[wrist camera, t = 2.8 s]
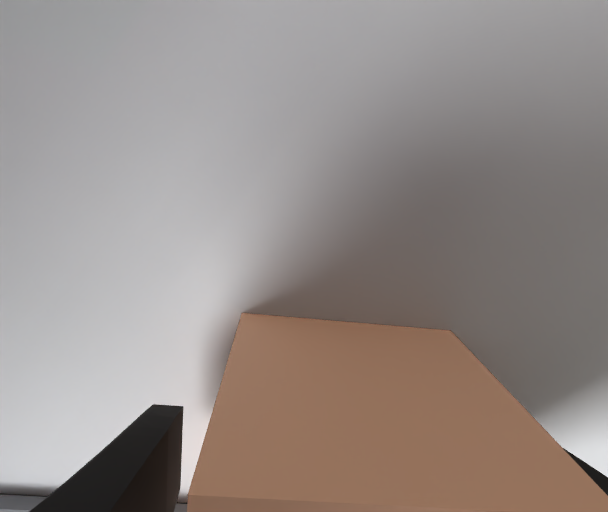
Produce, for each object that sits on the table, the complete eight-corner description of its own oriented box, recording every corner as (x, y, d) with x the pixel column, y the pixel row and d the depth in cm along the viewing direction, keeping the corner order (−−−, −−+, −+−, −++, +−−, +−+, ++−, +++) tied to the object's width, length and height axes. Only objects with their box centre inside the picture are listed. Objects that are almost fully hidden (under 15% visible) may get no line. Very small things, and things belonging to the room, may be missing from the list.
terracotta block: (229, 486, 10) (174, 788, 5) (241, 311, 9) (187, 494, 4) (412, 496, 10) (521, 789, 6) (449, 328, 9) (629, 517, 4)
